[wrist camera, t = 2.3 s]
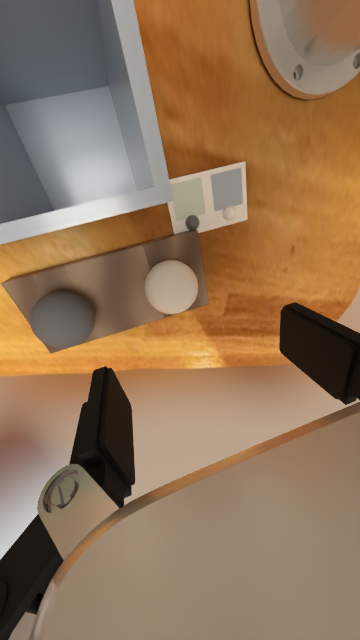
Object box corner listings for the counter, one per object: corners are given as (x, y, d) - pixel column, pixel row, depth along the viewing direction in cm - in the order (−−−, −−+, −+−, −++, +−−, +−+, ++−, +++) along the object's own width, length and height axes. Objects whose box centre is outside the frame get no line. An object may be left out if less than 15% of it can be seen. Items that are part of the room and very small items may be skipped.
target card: (242, 162, 19) (249, 159, 18) (244, 219, 22) (251, 220, 20) (161, 181, 18) (164, 179, 17) (174, 238, 21) (177, 240, 20)
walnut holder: (192, 229, 20) (197, 230, 19) (204, 298, 24) (209, 303, 23) (10, 278, 19) (0, 283, 17) (55, 345, 23) (50, 353, 21)
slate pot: (115, 76, 14) (96, -184, 5) (148, 207, 19) (173, 200, 9) (-7, 98, 14) (-309, -167, 4) (57, 230, 18) (-19, 249, 8)
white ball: (184, 249, 20) (200, 259, 16) (193, 294, 23) (209, 313, 18) (136, 263, 20) (139, 277, 15) (150, 307, 22) (157, 330, 18)
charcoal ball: (84, 277, 19) (73, 296, 15) (105, 321, 22) (101, 348, 17) (30, 292, 18) (2, 316, 14) (58, 335, 21) (41, 367, 17)
